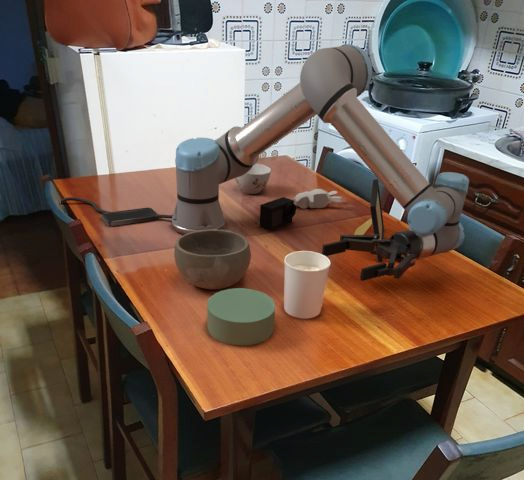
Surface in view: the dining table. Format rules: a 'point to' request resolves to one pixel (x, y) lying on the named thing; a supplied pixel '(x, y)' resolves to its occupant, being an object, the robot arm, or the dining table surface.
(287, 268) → the candle holder
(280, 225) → the digital camera
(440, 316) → the dining table surface
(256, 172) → the teacup
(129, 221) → the phone
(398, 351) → the dining table surface
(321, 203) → the bunny figurine
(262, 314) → the stand
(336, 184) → the dining table surface
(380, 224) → the picture frame
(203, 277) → the bowl
